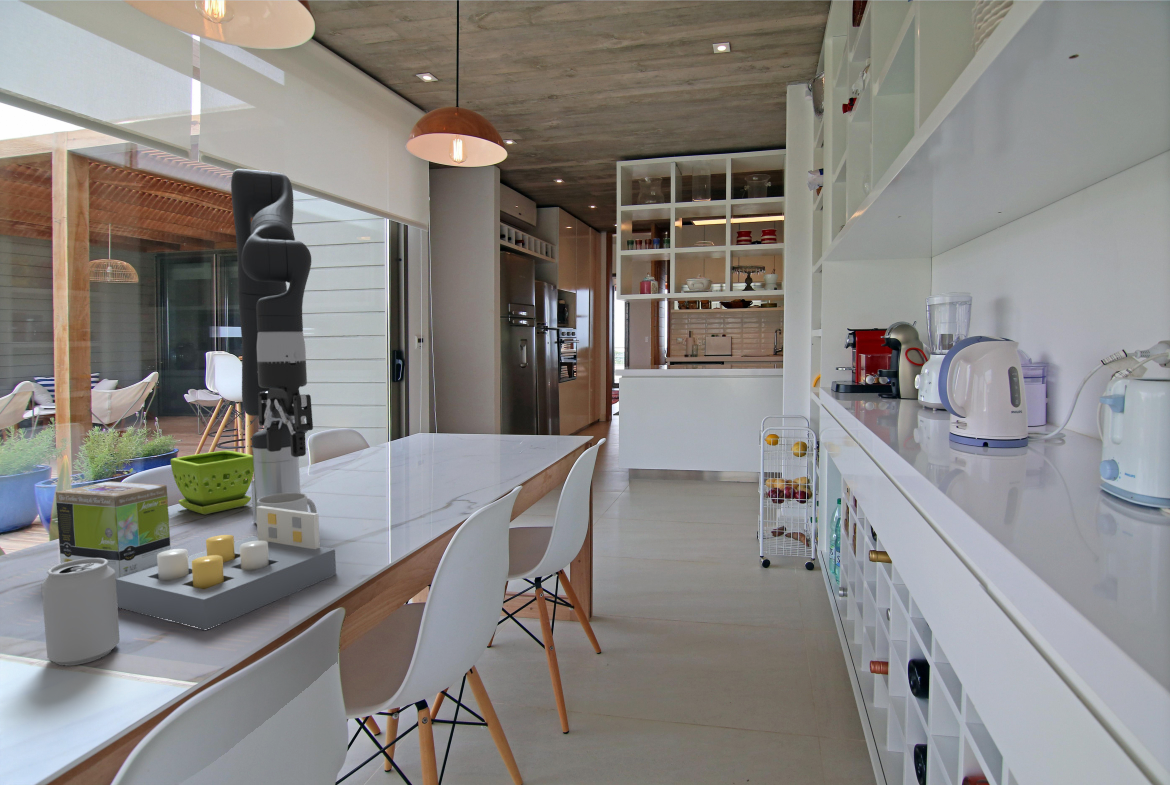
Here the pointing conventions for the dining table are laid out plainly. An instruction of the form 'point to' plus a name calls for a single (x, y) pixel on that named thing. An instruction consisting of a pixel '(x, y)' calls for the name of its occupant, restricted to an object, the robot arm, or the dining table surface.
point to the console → (237, 575)
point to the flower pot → (213, 480)
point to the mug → (288, 502)
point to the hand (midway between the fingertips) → (286, 453)
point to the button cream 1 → (172, 564)
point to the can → (80, 611)
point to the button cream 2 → (254, 555)
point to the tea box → (114, 524)
